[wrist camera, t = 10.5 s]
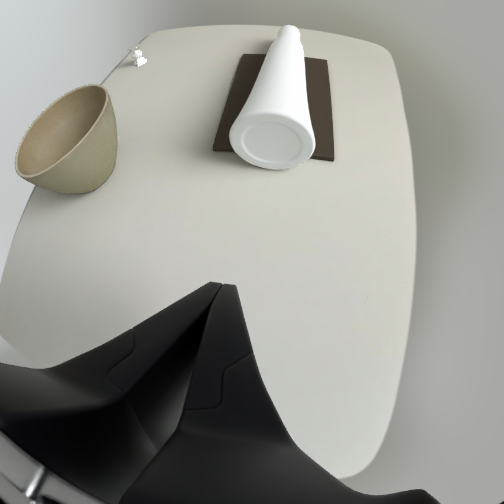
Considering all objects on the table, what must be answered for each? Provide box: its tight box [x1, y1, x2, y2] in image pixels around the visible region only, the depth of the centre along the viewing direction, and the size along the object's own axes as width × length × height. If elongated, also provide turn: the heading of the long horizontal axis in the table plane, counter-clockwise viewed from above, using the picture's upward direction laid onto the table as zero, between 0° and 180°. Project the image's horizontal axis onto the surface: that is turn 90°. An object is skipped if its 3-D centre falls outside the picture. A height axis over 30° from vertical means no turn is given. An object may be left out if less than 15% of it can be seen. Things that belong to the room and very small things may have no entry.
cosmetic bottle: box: [229, 25, 315, 170], centre depth 22 cm, size 6×6×22 cm
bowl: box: [15, 84, 117, 193], centre depth 19 cm, size 10×10×7 cm
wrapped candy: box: [128, 44, 147, 66], centre depth 27 cm, size 2×2×3 cm
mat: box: [213, 54, 334, 161], centre depth 24 cm, size 16×10×1 cm, turn 172°
